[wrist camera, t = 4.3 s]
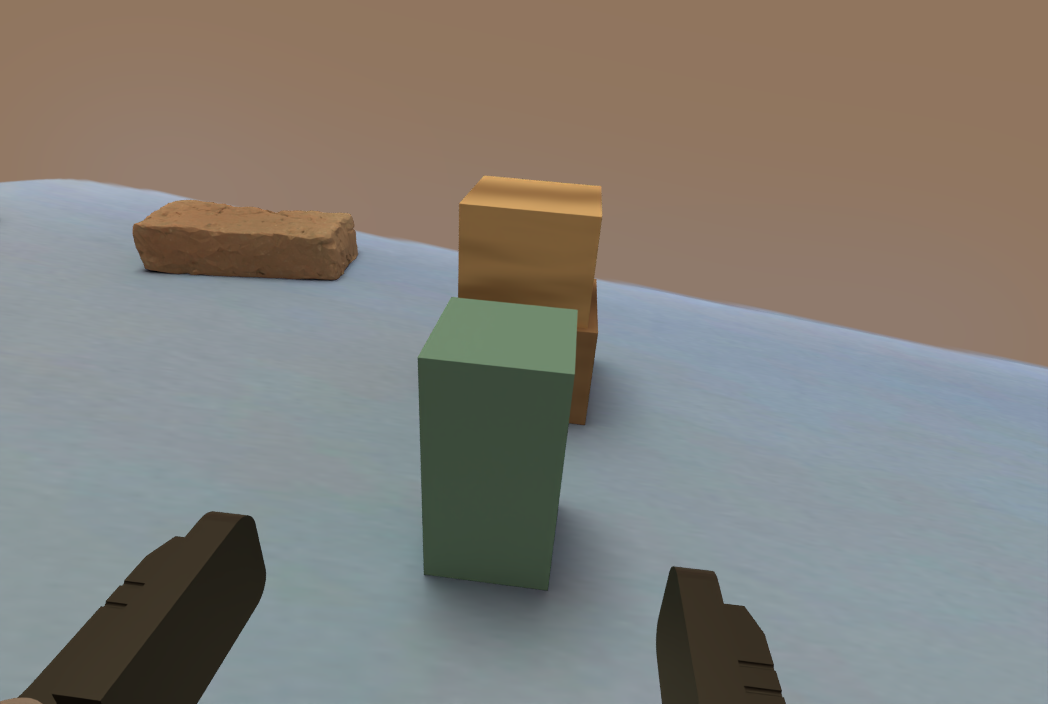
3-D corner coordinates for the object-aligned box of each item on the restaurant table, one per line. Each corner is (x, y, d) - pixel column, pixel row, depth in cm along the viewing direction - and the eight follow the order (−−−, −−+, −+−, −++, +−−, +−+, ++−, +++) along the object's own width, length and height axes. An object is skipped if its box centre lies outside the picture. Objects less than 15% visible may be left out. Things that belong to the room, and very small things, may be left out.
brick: (360, 253, 56) (356, 206, 54) (338, 285, 49) (333, 231, 46) (187, 246, 55) (176, 197, 53) (139, 277, 48) (123, 222, 46)
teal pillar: (547, 590, 22) (574, 374, 18) (424, 574, 23) (417, 357, 18) (554, 502, 27) (577, 309, 22) (450, 489, 27) (451, 297, 22)
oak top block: (587, 328, 30) (602, 217, 27) (458, 314, 31) (459, 203, 28) (588, 281, 36) (601, 186, 33) (481, 270, 37) (484, 175, 34)
